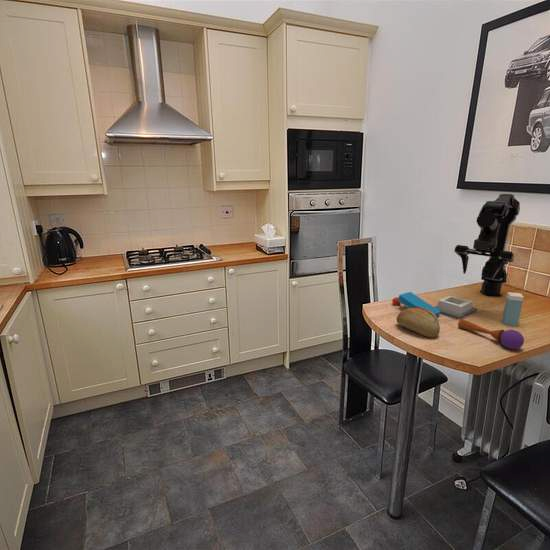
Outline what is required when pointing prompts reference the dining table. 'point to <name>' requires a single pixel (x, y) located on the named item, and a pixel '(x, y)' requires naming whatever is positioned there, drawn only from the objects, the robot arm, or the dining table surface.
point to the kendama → (496, 334)
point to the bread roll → (419, 321)
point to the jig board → (455, 307)
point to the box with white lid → (512, 309)
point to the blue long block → (414, 302)
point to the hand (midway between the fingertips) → (477, 275)
